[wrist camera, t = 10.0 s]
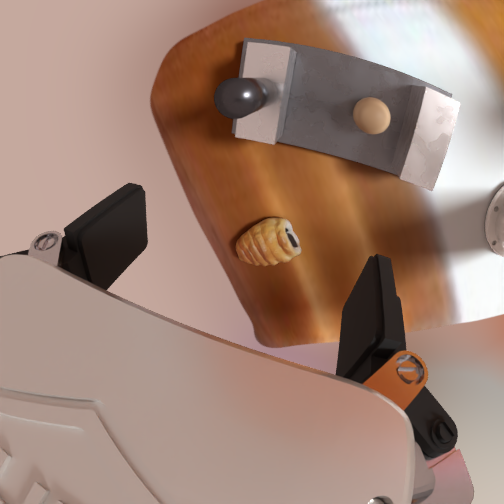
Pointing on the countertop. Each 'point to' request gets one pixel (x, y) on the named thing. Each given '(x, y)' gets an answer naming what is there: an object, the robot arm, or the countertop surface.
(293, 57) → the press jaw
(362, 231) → the countertop surface
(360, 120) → the tan wooden ball
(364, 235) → the countertop surface
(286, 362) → the robot arm
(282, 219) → the pastry
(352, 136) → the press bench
